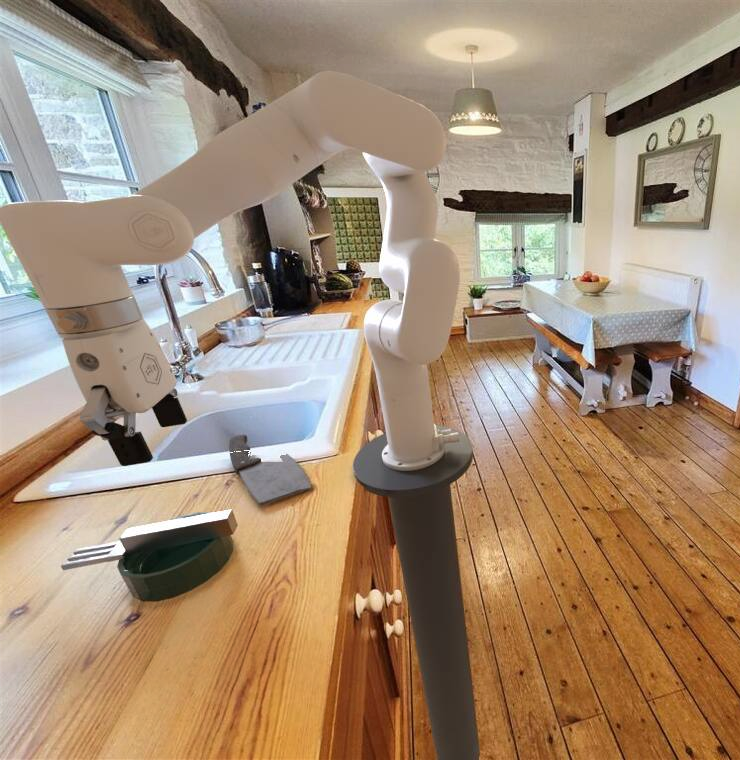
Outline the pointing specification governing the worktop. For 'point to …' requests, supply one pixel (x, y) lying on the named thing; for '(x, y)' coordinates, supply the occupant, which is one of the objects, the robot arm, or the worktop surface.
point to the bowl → (174, 567)
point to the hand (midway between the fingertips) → (157, 442)
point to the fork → (156, 538)
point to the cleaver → (267, 474)
